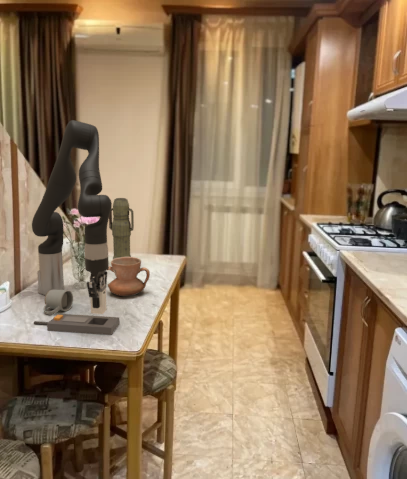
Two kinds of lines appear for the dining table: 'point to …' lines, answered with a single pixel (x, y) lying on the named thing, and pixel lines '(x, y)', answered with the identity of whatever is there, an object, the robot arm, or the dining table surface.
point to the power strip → (82, 324)
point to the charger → (102, 301)
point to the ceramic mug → (58, 301)
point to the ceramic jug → (127, 276)
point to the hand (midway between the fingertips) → (98, 305)
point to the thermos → (121, 227)
